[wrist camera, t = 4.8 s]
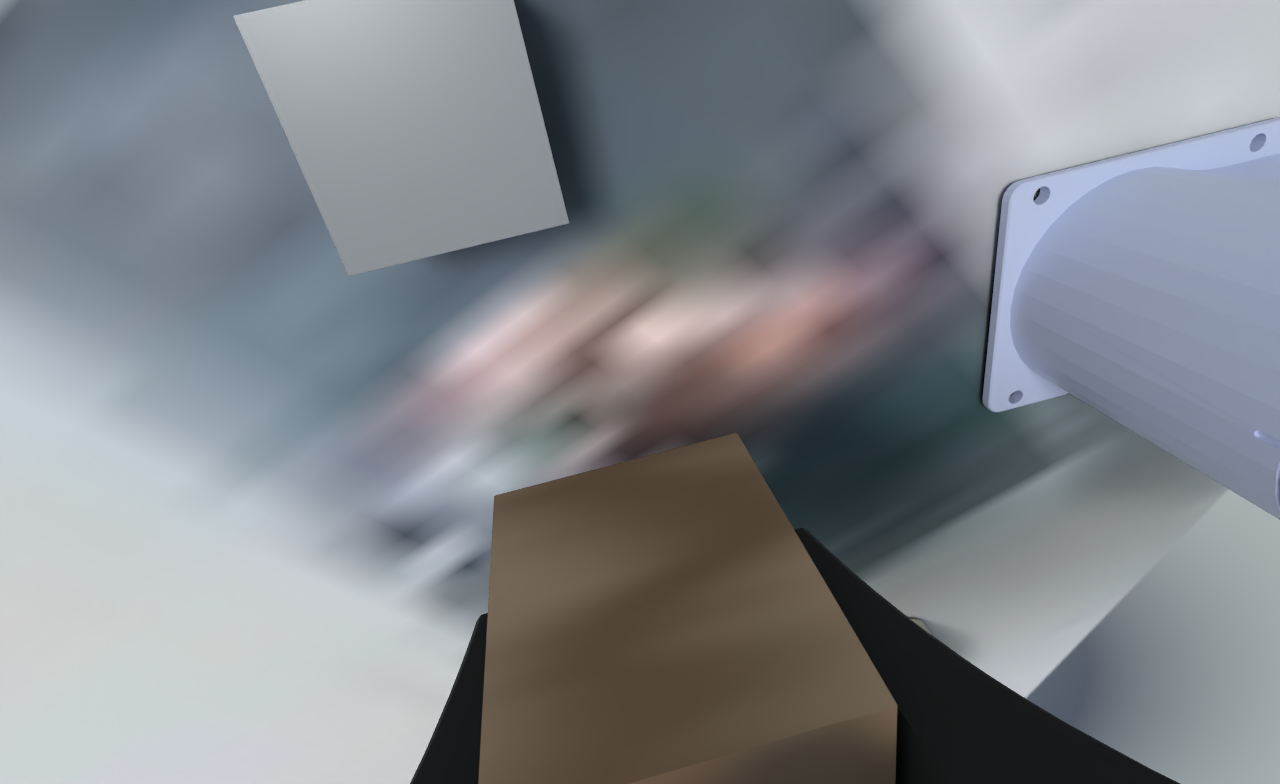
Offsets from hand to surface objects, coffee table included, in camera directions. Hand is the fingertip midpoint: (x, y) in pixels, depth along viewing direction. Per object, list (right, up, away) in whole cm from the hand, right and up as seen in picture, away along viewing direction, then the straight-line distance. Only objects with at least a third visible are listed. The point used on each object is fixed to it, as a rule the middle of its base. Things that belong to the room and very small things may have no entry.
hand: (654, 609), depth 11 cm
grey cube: (-5, +11, +4) cm, 13 cm away
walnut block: (0, +1, +1) cm, 1 cm away
